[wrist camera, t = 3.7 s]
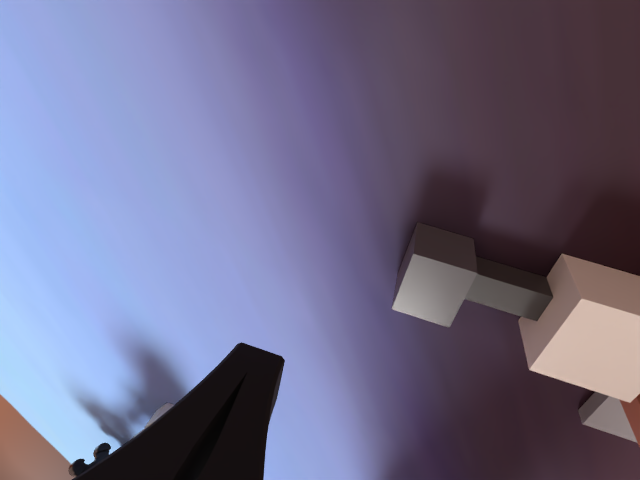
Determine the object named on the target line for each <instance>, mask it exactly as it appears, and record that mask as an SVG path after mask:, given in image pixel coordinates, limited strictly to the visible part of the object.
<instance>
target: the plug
mask: <svg viewBox="0 0 640 480" xmlns="http://www.w3.org/2000/svg"><path fill="white" fill-rule="evenodd" d="M464 299H467V300H470V301H473V302H476V303H479V304H483V305H486V306H489V307H492V308H495V309H499V310H502V311H505V312H508V313H511V314H515V315H518V316H521V317H520V319H519V320H518V322H519V327H520V331H521V336H522V340H523V345H524V350H525V354H526V359H527V363H528V368H529V370H531V371H534V372H537V373H540V374H543V375H546V376H549V377H552V378H555V379H559V380H562V381H565V382H568V383H571V384H574V385H577V386H580V387H583V388H586V389H589V390H592V391H595V392H598V393H601V394H605V395H608V396H611V397H614V398H617V399H620V400H623V401H626V402H629V403H630V402H631V401H632V400H634V399H635V398H636V397H637V396H638V395H639V394H640V276H637V275H634V274H631V273H627V272H624V271H620V270H617V269H613V268H610V267H606V266H603V265H600V264H596V263H593V262H589V261H586V260H582V259H579V258H576V257H572V256H569V255H565V254H561V256H560V257H559V259H558V260H557V262H556V263H555V265H554V266H553V268H552V269H551V271H550V272H549V274H548V276H547V277H544V276H541V275H537V274H534V273H531V272H527V271H524V270H521V269H517V268H514V267H510V266H507V265H504V264H500V263H497V262H494V261H490V260H487V259H484V258H480V257H477V256H476V255H475V246H474V239H473V238H470V237H466V236H463V235H459V234H456V233H453V232H449V231H446V230H442V229H439V228H436V227H432V226H429V225H425V224H422V223H419V222H417V224H416V227H415V229H414V232H413V235H412V237H411V240H410V243H409V245H408V248H407V251H406V253H405V256H404V258H403V261H402V264H401V266H400V269H399V272H398V274H397V280H396V286H395V292H394V298H393V304H392V309H393V310H396V311H399V312H402V313H405V314H408V315H411V316H414V317H417V318H421V319H424V320H427V321H430V322H433V323H436V324H439V325H442V326H445V327H450V325H451V323H452V321H453V319H454V317H455V316H456V314H457V312H458V310H459V308H460V306H461V304H462V302H463V300H464Z"/></svg>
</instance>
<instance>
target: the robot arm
mask: <svg viewBox="0 0 640 480" xmlns="http://www.w3.org/2000/svg"><path fill="white" fill-rule="evenodd" d="M284 362H285V360H284V359H283V357H282V356H279V355H276V354H273V353H270V352H268V351H265V350H262V349H259V348H256V347H253V346H250V345H247V344H244V343H239V344H237V345H236V346H235V348H234V349H233V350H232V351H231V352H230V353H229V354H228V355H227V356H226V357H225V358H224V359H223V360H222V362H221V363H220V364H219V365H218V366H217V367H216V368H215V369H214V370H213V371H211V372H210V373H209V374H208V375H207V376H206V377H205V378H204V379H203V380H202V381H201V382H200V383H199V384H198V385H197V386H195V387H194V388H193V389H192V390H191V391H190V392H189V393H188V394H187V395H186V396H184V397H183V398H182V399H181V400H180V401H179V402H178V403H176V404H175V405H174V406H173V407H172V408H170V409H169V410H168V411H167V412H165V413H164V414H163V415H162V416H161V417H159V418H158V419H157V420H156V421H154V422H153V423H152V424H151V425H149V426H148V427H147V428H146V429H144V430H143V431H142V432H140V433H139V434H138V435H136V436H135V437H134V438H132V439H131V440H130V441H128V442H127V443H125V444H124V445H123V446H121V447H120V448H119V449H117V450H116V451H114V452H113V453H111V454H110V455H108V456H107V457H105V458H104V459H103V460H101V461H100V462H98V463H97V464H95V465H94V466H92V467H91V468H89V469H88V470H86V471H85V472H83V473H81V474H80V475H78V476H77V477H75V478H74V479H72V480H263V476H264V462H265V450H266V440H267V432H268V425H269V421H270V418H271V414H272V411H273V408H274V405H275V402H276V399H277V395H278V390H279V386H280V381H281V376H282V371H283V366H284Z"/></svg>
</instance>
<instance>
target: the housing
mask: <svg viewBox="0 0 640 480" xmlns="http://www.w3.org/2000/svg"><path fill="white" fill-rule="evenodd" d="M578 412H579V415H580V418H581V422H582V424H584V425H587V426H590V427H592V428H595V429H598V430H601V431H604V432H607V433H610V434H613V435H616V436H619V437H622V438H625V439H628V440H631V441H634V442H637V443H638V445H639V447H640V394H639V395H638V396H637V397H636V398H635V399H634V400H632V401H631V402H630V403H629V402H626V401H623V400H620V399H617V398H614V397H611V396H608V395H605V394H601V393H598V392H595V393H594V394H593V395H592V396H591V397H590V398H589V399H588V400H587V401H586V402H585V403H584V404H583V406H582V407H581V408H580V409H579V410H578Z"/></svg>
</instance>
